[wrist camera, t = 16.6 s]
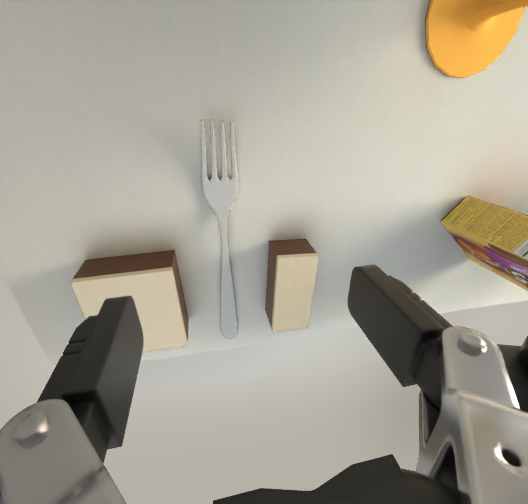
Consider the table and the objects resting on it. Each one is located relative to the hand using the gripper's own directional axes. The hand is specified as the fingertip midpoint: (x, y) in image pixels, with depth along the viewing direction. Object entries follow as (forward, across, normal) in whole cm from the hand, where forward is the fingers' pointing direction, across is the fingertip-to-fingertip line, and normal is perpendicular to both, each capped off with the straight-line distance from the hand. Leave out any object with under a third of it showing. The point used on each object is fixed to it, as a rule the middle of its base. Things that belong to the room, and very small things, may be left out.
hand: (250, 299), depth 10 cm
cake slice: (+17, -6, +11) cm, 21 cm away
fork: (+18, 0, +7) cm, 19 cm away
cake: (+17, +9, +11) cm, 22 cm away
